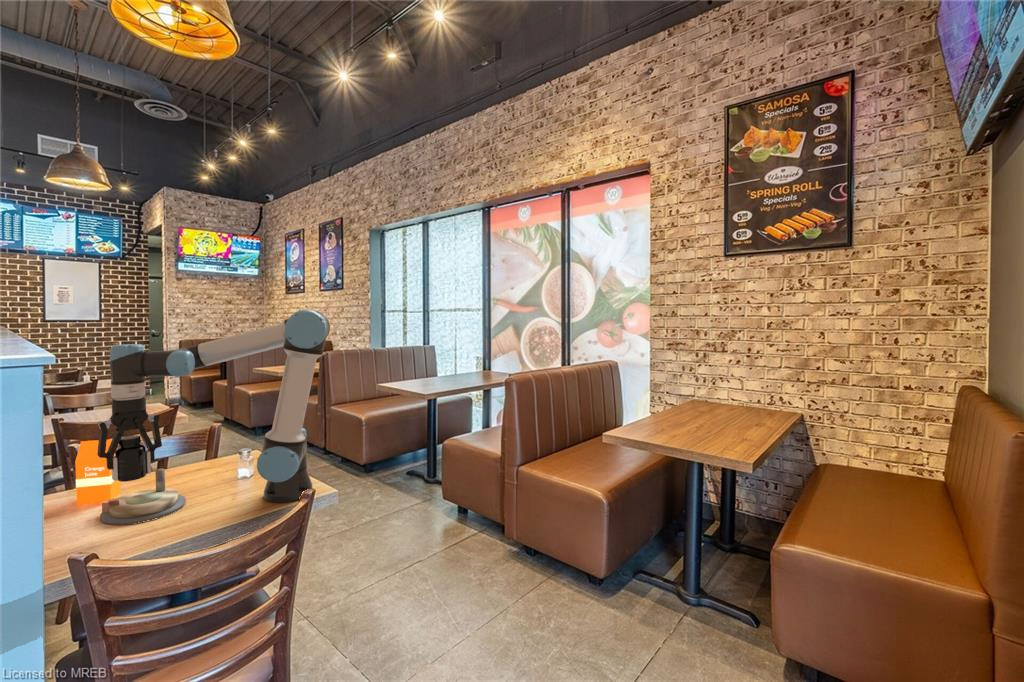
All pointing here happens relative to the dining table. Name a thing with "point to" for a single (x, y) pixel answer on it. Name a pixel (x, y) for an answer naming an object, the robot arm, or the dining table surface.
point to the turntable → (144, 500)
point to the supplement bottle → (131, 459)
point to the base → (110, 520)
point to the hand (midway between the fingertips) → (131, 476)
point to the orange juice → (94, 475)
